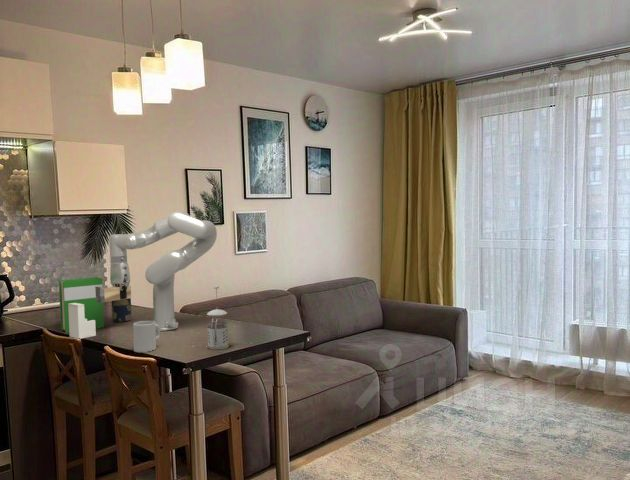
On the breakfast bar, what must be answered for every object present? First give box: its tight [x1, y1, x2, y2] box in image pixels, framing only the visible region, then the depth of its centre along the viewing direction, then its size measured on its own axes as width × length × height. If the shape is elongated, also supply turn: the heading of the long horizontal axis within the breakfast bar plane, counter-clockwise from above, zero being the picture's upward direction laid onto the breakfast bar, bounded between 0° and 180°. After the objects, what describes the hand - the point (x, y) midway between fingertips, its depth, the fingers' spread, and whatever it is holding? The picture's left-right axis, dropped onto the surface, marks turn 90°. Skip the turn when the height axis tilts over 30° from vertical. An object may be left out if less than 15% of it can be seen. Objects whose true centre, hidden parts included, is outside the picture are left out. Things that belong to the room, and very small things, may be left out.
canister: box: [110, 297, 133, 323], centre depth 279 cm, size 10×10×18 cm
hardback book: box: [58, 276, 105, 334], centre depth 261 cm, size 18×7×24 cm, turn 131°
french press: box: [206, 285, 229, 347], centre depth 218 cm, size 10×12×25 cm
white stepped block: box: [68, 303, 97, 340], centre depth 244 cm, size 8×8×15 cm
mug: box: [132, 320, 161, 353], centre depth 218 cm, size 12×8×11 cm
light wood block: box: [95, 285, 132, 304], centre depth 256 cm, size 4×16×7 cm, turn 143°
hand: (120, 297), depth 259 cm, fingers closed on light wood block, 4 cm apart
